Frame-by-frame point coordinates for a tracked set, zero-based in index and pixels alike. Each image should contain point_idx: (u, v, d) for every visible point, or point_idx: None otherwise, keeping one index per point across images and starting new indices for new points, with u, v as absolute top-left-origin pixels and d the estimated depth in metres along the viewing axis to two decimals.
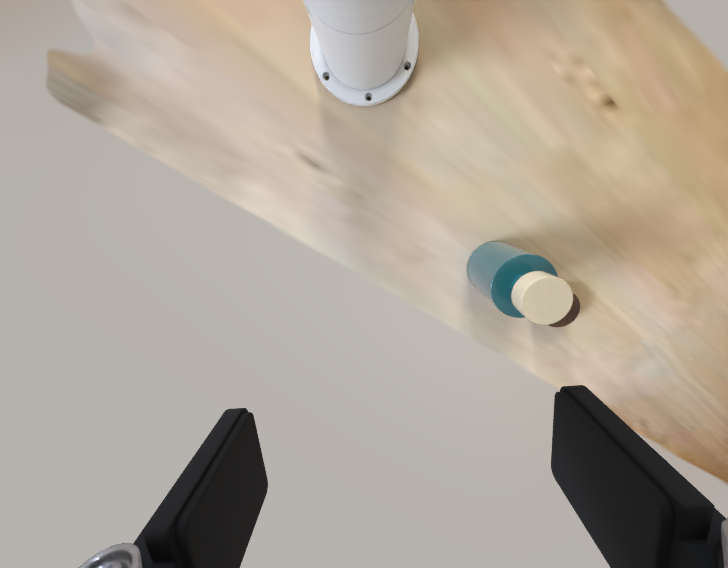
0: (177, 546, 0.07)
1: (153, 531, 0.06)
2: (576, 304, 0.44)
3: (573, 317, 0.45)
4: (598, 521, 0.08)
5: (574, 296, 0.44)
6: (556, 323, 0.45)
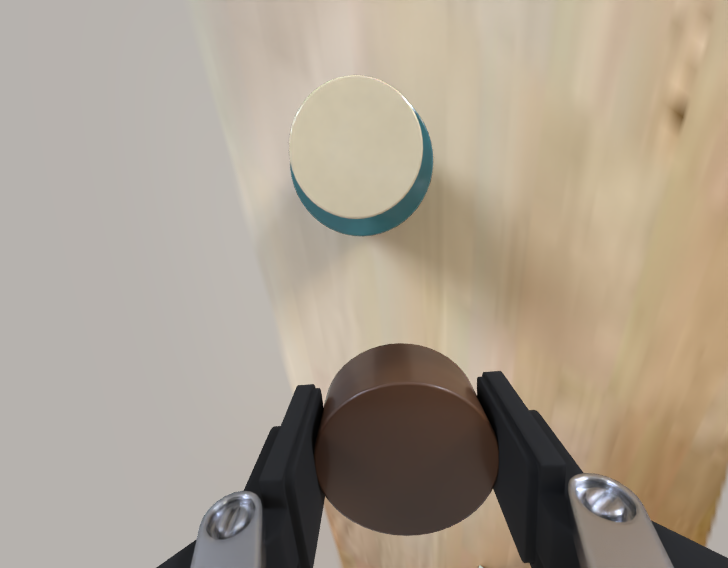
0: (286, 495, 0.07)
1: (269, 479, 0.07)
2: (469, 498, 0.09)
3: (415, 528, 0.10)
4: (501, 488, 0.09)
5: (493, 468, 0.09)
6: (346, 498, 0.10)
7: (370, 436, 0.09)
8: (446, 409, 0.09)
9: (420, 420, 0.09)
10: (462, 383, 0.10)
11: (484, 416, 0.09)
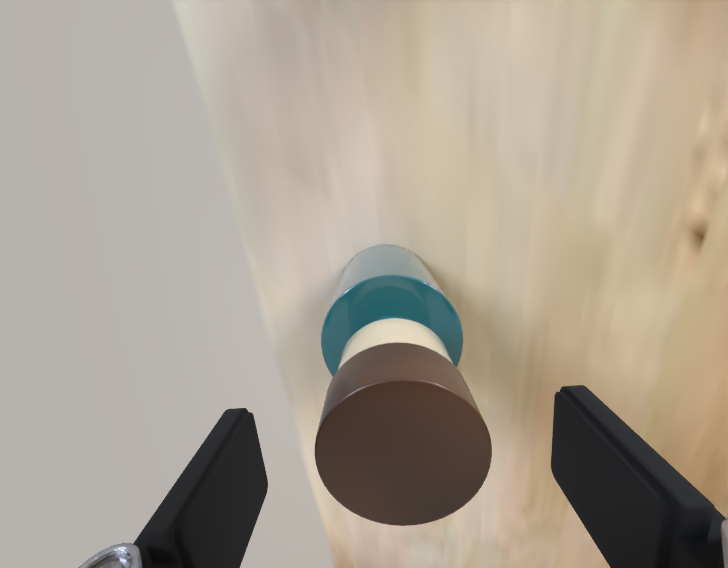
0: (177, 546, 0.07)
1: (153, 531, 0.06)
2: (463, 489, 0.10)
3: (411, 519, 0.10)
4: (598, 521, 0.08)
5: (485, 460, 0.10)
6: (346, 489, 0.10)
7: (368, 429, 0.10)
8: (440, 404, 0.09)
9: (416, 415, 0.09)
10: (456, 380, 0.10)
11: (476, 411, 0.09)
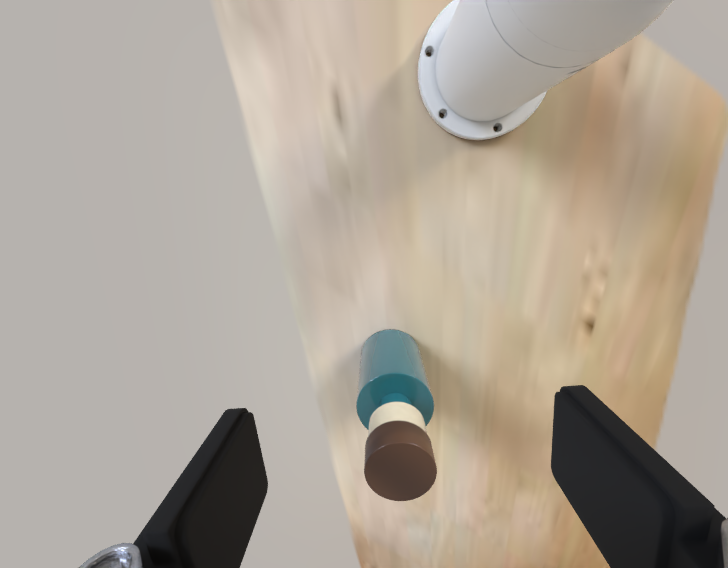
0: (177, 546, 0.07)
1: (153, 531, 0.06)
2: (425, 485, 0.24)
3: (404, 498, 0.25)
4: (598, 521, 0.08)
5: (434, 473, 0.24)
6: (377, 485, 0.24)
7: (386, 461, 0.24)
8: (415, 451, 0.23)
9: (405, 456, 0.24)
10: (423, 440, 0.24)
11: (430, 454, 0.24)
